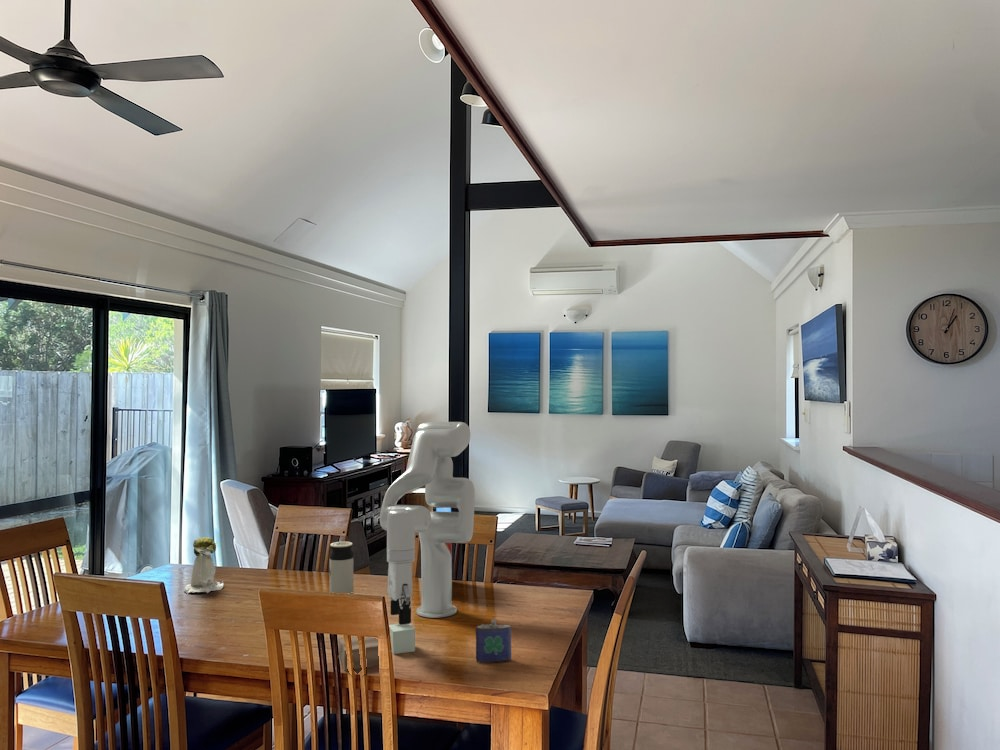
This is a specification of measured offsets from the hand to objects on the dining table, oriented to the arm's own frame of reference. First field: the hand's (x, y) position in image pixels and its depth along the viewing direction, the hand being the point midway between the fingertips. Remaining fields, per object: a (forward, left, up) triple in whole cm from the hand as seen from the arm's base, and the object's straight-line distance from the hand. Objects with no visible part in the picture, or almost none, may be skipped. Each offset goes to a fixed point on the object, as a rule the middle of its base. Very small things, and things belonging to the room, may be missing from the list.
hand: (400, 619), depth 201 cm
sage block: (-1, 0, -8) cm, 8 cm away
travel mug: (-59, -7, -9) cm, 60 cm away
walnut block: (+4, -12, -8) cm, 15 cm away
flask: (+17, +20, -9) cm, 28 cm away
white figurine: (-87, -51, -9) cm, 101 cm away
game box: (-54, +28, -9) cm, 61 cm away
